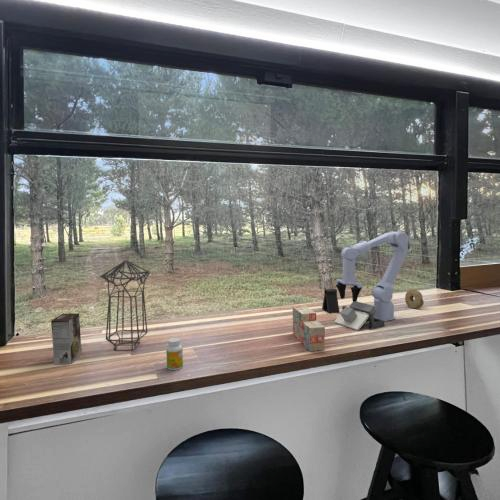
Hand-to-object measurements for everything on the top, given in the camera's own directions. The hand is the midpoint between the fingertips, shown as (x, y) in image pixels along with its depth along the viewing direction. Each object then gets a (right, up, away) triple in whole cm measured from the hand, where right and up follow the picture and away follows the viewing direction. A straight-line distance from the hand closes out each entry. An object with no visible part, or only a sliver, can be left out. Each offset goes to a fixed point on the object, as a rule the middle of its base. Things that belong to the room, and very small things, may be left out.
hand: (348, 299), depth 167 cm
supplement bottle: (-74, -16, -49) cm, 90 cm away
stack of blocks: (-24, -14, -26) cm, 38 cm away
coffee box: (-115, -16, -41) cm, 123 cm away
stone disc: (+42, -8, +22) cm, 49 cm away
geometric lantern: (-97, -15, -29) cm, 102 cm away
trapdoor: (+3, -9, -5) cm, 10 cm away
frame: (+6, -10, -3) cm, 12 cm away
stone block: (-1, -8, -7) cm, 11 cm away
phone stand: (-4, -9, +19) cm, 21 cm away
